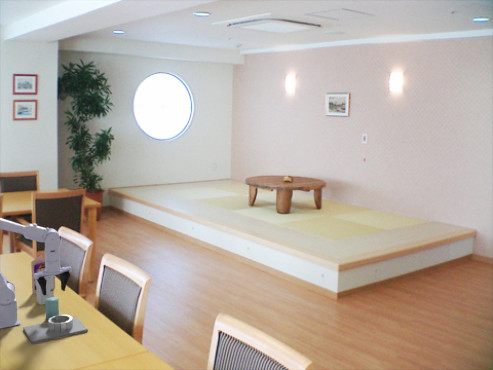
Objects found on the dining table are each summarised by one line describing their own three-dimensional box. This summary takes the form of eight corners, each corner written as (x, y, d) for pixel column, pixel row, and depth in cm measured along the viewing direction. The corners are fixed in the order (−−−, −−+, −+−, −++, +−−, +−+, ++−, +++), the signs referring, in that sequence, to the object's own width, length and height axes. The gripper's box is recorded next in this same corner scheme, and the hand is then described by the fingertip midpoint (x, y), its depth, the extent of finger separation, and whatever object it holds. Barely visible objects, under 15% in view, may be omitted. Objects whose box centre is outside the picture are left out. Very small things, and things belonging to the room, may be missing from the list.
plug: (47, 322, 207) (46, 302, 206) (44, 317, 211) (43, 298, 210) (60, 319, 210) (59, 300, 209) (57, 315, 214) (56, 296, 213)
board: (32, 344, 188) (32, 341, 188) (23, 329, 200) (23, 327, 200) (87, 331, 200) (87, 329, 200) (76, 318, 211) (76, 316, 211)
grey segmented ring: (52, 333, 195) (51, 325, 194) (46, 325, 202) (45, 317, 201) (75, 328, 200) (75, 320, 199) (68, 320, 207) (68, 313, 206)
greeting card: (33, 294, 235) (32, 262, 233) (24, 290, 240) (23, 258, 237) (56, 287, 244) (55, 256, 242) (47, 284, 249) (46, 253, 246)
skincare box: (40, 305, 223) (39, 278, 222) (36, 302, 227) (35, 275, 225) (54, 301, 228) (53, 275, 226) (50, 298, 231) (49, 272, 229)
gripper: (38, 265, 200) (39, 299, 203) (74, 258, 210) (75, 291, 212) (31, 261, 205) (32, 294, 208) (66, 254, 215) (68, 286, 217)
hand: (53, 292), depth 210 cm, fingers open, 7 cm apart
